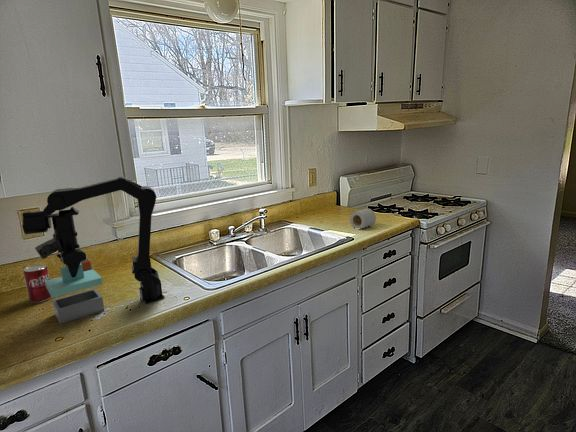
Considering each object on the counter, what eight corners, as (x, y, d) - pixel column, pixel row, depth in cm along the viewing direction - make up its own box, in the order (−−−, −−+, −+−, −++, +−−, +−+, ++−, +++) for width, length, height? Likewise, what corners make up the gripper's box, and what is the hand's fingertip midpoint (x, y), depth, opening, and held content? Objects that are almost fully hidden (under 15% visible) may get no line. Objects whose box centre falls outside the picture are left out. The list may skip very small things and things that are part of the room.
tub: (97, 301, 134) (95, 288, 133) (104, 310, 128) (102, 296, 127) (54, 314, 126) (52, 300, 125) (60, 324, 120) (57, 309, 119)
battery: (94, 282, 152) (90, 258, 149) (75, 287, 148) (70, 262, 145) (91, 279, 155) (87, 255, 153) (73, 283, 151) (68, 259, 149)
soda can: (25, 300, 137) (18, 269, 135) (47, 293, 143) (41, 262, 140) (35, 305, 133) (28, 273, 131) (57, 297, 139) (50, 266, 136)
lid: (94, 275, 133) (91, 256, 131) (102, 284, 125) (99, 264, 124) (46, 287, 124) (42, 267, 123) (52, 297, 116) (48, 277, 115)
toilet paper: (364, 231, 207) (364, 213, 205) (349, 227, 214) (350, 210, 212) (375, 227, 214) (375, 209, 211) (361, 224, 221) (361, 207, 218)
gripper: (30, 229, 122) (39, 274, 126) (39, 241, 108) (49, 292, 112) (69, 222, 129) (77, 266, 133) (82, 233, 115) (90, 281, 119)
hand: (73, 276), depth 124 cm, fingers closed on lid
